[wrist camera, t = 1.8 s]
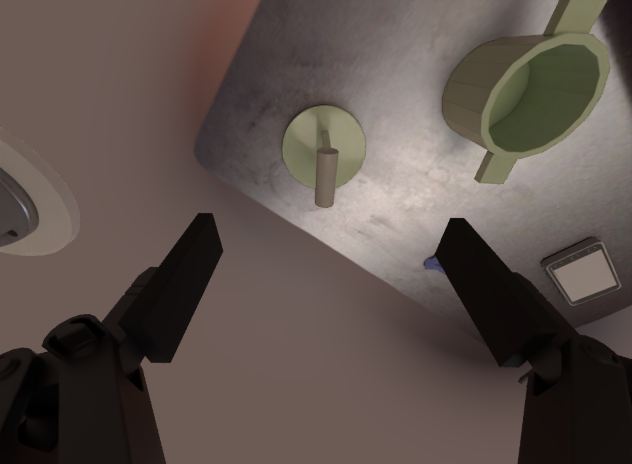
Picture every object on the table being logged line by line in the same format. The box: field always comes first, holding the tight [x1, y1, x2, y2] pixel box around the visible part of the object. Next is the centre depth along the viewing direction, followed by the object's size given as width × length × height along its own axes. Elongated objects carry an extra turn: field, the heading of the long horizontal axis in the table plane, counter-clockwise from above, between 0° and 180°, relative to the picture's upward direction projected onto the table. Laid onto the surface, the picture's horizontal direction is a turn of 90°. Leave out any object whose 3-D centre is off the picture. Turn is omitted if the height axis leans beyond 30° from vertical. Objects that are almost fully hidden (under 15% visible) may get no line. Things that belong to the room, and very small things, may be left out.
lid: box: [282, 105, 366, 208], centre depth 24 cm, size 9×9×9 cm
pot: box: [442, 0, 610, 184], centre depth 21 cm, size 8×14×8 cm, turn 177°
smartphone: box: [542, 238, 621, 305], centre depth 39 cm, size 7×1×15 cm
